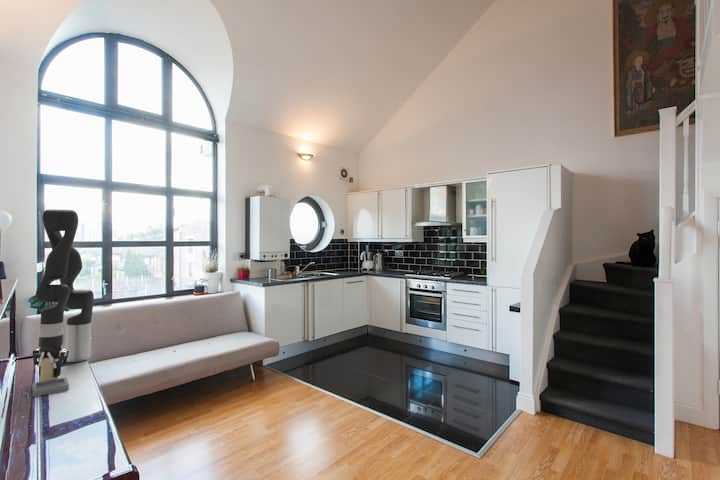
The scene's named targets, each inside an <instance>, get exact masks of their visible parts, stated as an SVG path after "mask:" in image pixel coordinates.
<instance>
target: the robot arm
mask: <svg viewBox="0 0 720 480" xmlns="http://www.w3.org/2000/svg"><path fill="white" fill-rule="evenodd" d="M42 224H43V227H44V231H45V232H46V235H47V238H48V241H49V243H50V247H51V250H50V252H49V253H48V255H47V257H46V260H45V266H44V267H45V268H44V274H43V277H42V280H41V281H40V284H39V285H38V287H37V288H36V292H35V299H36V301H38V302H39V303H57V304H55V306H51V307H47V308H44V309H42V310H41V312H40V321H39V322H40V324H39V329H38V347H39V348H38V349H35V350H33V351H32V359H33V365H34V366H37V367H38V376H39V377H40V375H41V361H42V360H43V359H44V358H50V361H51V363H53V366H54V368H53V377H58V378H59V377H60V376H61V373H62V372H61V370H62V369H61V368H62V367H63V366H66V365H67V363H75V362H83V361H86V360H88V359H90V358H91V357H92V350H93V348H92V347H93V337H92V336H91V335H92V334H91V332H92V318H93V308H94V298H95V297H94V292H93V290H91V289H75V288H74V283H75V280H76V279H77V278H78V276H79V274H80V273H81V272H82V269H83V263H82V257H81V254H80V252H79V251H78V250H77V249H76V248H75V247H74V246H73V245H74V241H75V236H76V233H77V230H78V227H79V216H78V213H77V212H76V210H74V209H59V208H58V209H53V208H52V209H45V210H44V211H43V212H42ZM61 232H64V234H63V235H62V233H61ZM54 281H59V282H60V284H51V283H53V282H54ZM65 309H67V310H80V313H79V314H76V315H73V316H70V317H68V318H67V320H66V331H65V333H66V336H65V350H63V349H62V346H63V344H64V334H65V333H64V330H65V328H64V314H65ZM56 358H58V359H57V360H54V359H56ZM86 358H87V359H86ZM57 361H58V364H57V363H56V362H57Z"/></svg>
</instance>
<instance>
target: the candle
mask: <svg viewBox="0 0 720 480" xmlns="http://www.w3.org/2000/svg"><path fill="white" fill-rule="evenodd" d="M57 359H58V358H56V359H54V360H57ZM56 363H57V364H58V361H57V362H56ZM53 368H54V366H53V363H51V361H50V358H44V359H43V360H42V361H41V375H40V376H39V377H40V378H39V379H40V380H39V382H42V381H48V380H54V379H59V376H58V377H53Z"/></svg>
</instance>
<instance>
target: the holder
mask: <svg viewBox="0 0 720 480" xmlns="http://www.w3.org/2000/svg"><path fill="white" fill-rule="evenodd" d="M68 381H69V380H68V377H67V376H65V377H62V378H59V377H58V379H54V380H48V381H42V382H40V381H37V382H33V383H32V387H31V390H32V398H35V397H39V396H44V395H45V396H46V395H49V394H50V395H51V394H55V393H59V392H65V391H69V385H70V384H69V382H68Z"/></svg>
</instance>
